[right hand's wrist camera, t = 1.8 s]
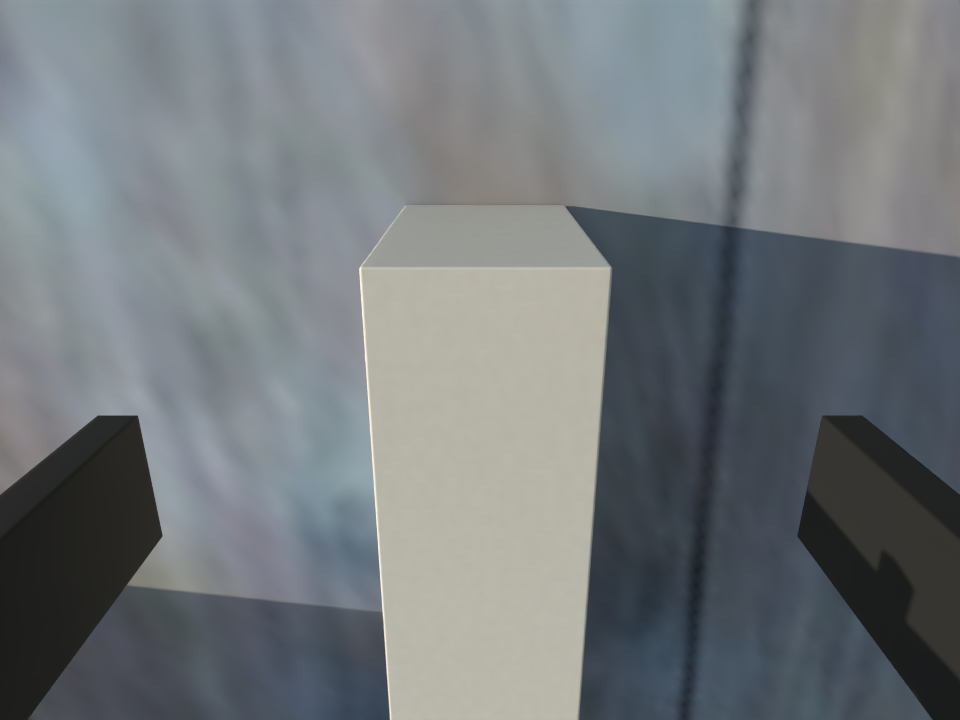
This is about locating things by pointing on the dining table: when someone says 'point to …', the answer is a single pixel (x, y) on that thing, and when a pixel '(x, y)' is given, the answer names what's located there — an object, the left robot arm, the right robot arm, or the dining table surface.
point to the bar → (485, 455)
